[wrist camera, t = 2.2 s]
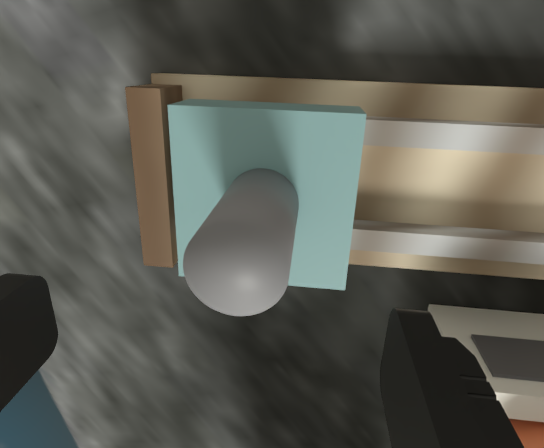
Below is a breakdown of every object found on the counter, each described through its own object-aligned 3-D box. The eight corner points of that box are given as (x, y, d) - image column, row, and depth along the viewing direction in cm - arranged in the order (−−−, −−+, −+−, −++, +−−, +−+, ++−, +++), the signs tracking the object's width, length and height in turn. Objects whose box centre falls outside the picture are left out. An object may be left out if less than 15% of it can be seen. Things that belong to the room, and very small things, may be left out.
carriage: (359, 106, 18) (393, 142, 10) (341, 260, 21) (356, 388, 13) (189, 98, 19) (87, 126, 10) (196, 248, 22) (121, 362, 13)
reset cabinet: (564, 313, 24) (655, 405, 17) (526, 412, 27) (591, 521, 20) (429, 301, 24) (468, 386, 18) (407, 399, 28) (434, 501, 21)
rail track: (660, 92, 19) (748, 100, 15) (589, 273, 23) (644, 316, 19) (159, 72, 21) (123, 75, 17) (171, 240, 25) (144, 273, 21)
